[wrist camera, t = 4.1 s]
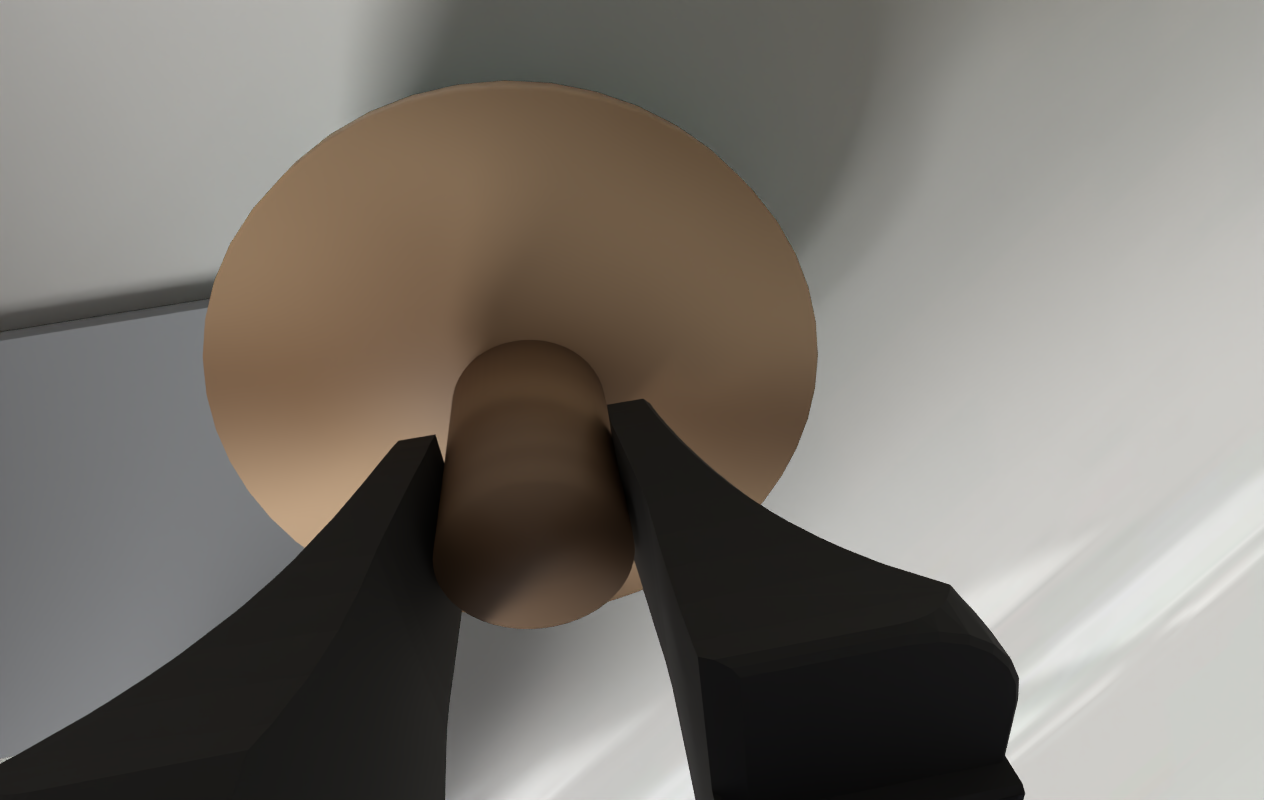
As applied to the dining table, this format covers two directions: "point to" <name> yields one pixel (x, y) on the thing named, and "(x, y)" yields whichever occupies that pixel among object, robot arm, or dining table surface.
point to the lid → (507, 330)
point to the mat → (114, 513)
